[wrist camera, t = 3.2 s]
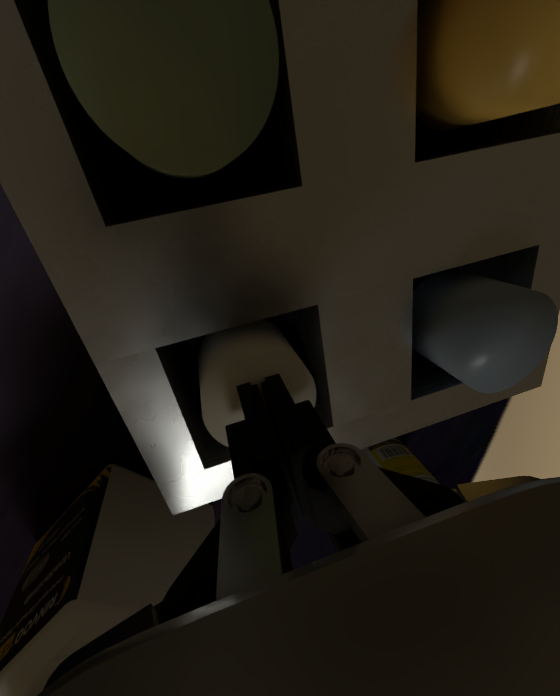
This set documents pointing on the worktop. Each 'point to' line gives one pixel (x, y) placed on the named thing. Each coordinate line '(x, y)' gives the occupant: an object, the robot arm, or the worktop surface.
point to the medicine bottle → (94, 573)
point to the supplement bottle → (397, 459)
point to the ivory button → (246, 371)
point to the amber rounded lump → (485, 60)
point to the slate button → (482, 328)
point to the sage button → (171, 76)
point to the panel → (281, 233)
